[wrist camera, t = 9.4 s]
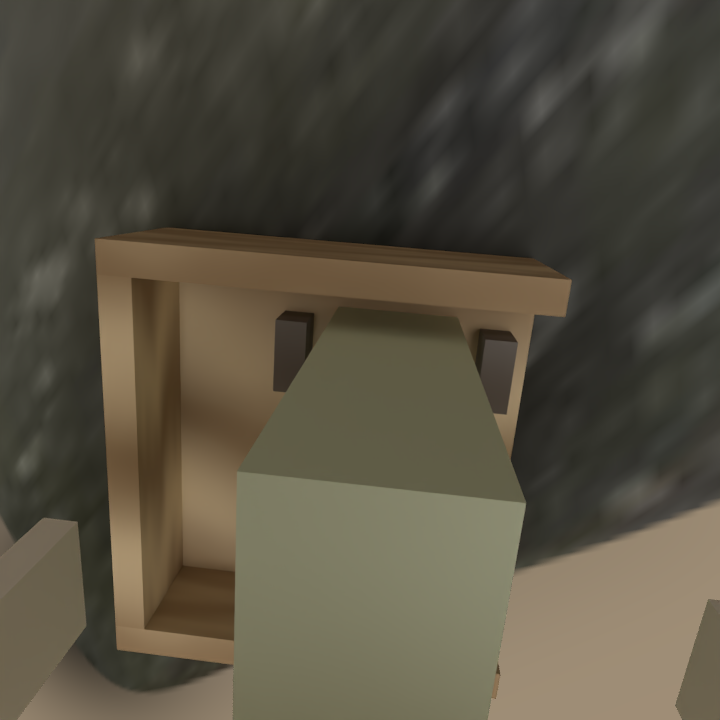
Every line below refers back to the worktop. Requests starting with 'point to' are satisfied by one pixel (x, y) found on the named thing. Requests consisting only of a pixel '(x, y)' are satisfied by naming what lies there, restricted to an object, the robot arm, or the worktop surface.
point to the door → (375, 532)
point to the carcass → (252, 389)
